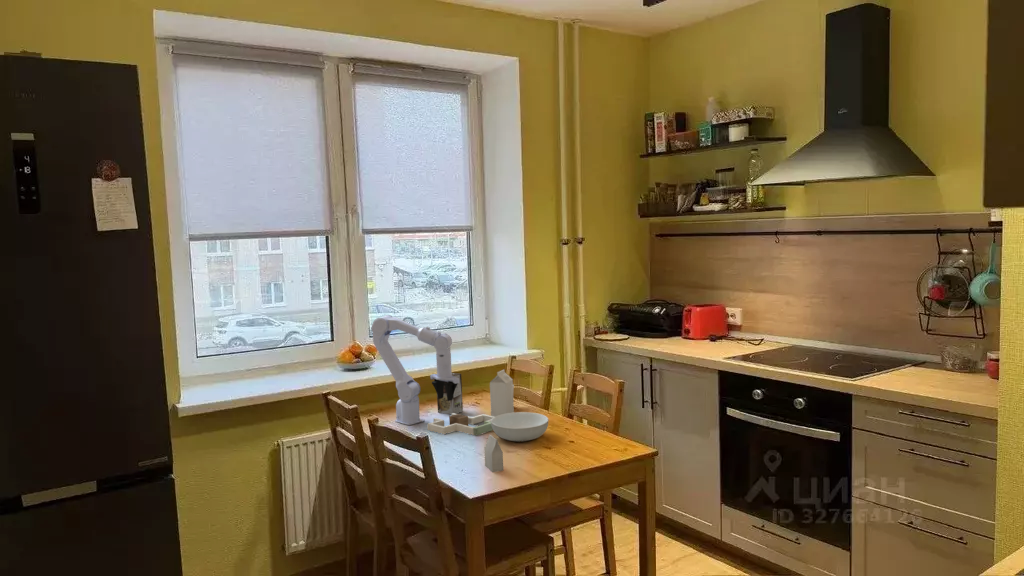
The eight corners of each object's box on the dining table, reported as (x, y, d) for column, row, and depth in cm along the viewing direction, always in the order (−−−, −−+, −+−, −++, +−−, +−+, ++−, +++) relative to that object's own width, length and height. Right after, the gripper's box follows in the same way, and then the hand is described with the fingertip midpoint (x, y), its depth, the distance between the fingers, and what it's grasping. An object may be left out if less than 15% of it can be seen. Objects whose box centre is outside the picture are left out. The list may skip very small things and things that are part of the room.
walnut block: (449, 426, 276) (449, 416, 276) (458, 423, 279) (458, 413, 279) (459, 428, 272) (459, 418, 271) (468, 426, 275) (468, 416, 274)
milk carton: (491, 419, 283) (489, 372, 282) (498, 414, 290) (496, 368, 288) (507, 420, 281) (505, 373, 279) (514, 415, 287) (512, 369, 286)
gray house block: (492, 472, 221) (491, 440, 220) (485, 466, 227) (483, 435, 226) (503, 470, 222) (502, 439, 221) (495, 464, 229) (494, 433, 228)
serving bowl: (482, 444, 250) (482, 425, 250) (503, 428, 270) (503, 410, 269) (538, 448, 243) (538, 429, 243) (556, 431, 263) (555, 413, 262)
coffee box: (463, 411, 297) (462, 373, 296) (454, 415, 292) (452, 376, 291) (446, 409, 302) (444, 371, 301) (437, 412, 297) (435, 374, 296)
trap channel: (421, 428, 273) (421, 421, 273) (465, 415, 290) (465, 409, 289) (463, 439, 257) (462, 432, 256) (507, 425, 273) (506, 418, 273)
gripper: (424, 365, 281) (425, 398, 282) (449, 368, 271) (450, 403, 272) (437, 362, 286) (438, 395, 287) (462, 365, 276) (463, 400, 277)
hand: (445, 399), depth 280 cm, fingers open, 5 cm apart
